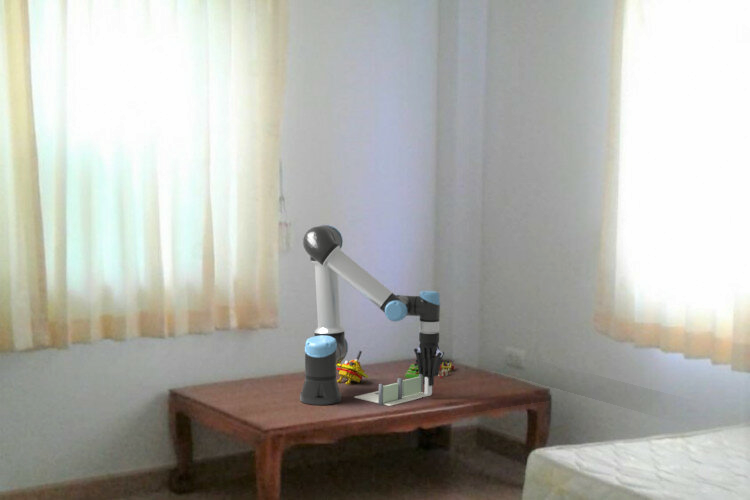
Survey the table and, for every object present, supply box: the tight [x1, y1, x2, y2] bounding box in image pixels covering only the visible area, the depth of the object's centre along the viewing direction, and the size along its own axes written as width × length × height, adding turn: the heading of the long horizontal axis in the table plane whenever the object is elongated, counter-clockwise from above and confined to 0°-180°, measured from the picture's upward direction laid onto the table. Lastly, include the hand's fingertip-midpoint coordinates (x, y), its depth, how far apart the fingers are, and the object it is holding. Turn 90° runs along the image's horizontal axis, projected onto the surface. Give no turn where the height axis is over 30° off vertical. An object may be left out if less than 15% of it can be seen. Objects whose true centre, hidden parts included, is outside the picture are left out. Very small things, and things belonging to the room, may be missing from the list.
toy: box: [336, 350, 370, 386], centre depth 370 cm, size 14×10×15 cm
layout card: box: [354, 390, 432, 407], centre depth 347 cm, size 24×18×1 cm
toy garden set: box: [404, 359, 455, 379], centre depth 391 cm, size 23×19×5 cm
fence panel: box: [402, 374, 424, 397], centre depth 347 cm, size 12×2×7 cm, turn 138°
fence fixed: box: [378, 377, 404, 406], centre depth 338 cm, size 12×2×8 cm, turn 138°
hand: (428, 393), depth 344 cm, fingers closed
